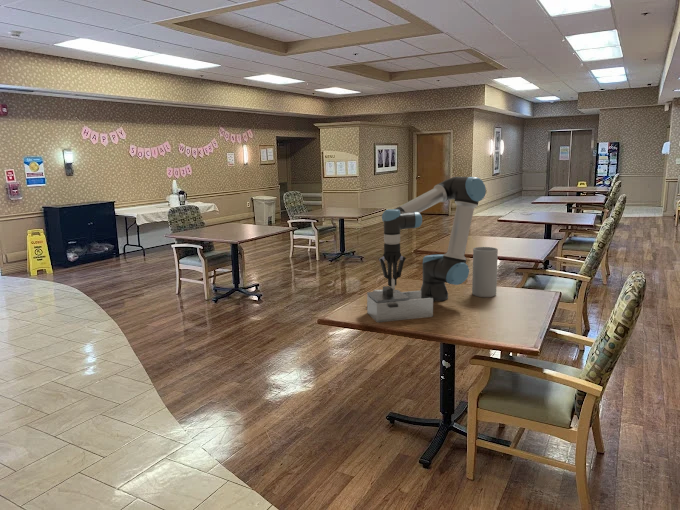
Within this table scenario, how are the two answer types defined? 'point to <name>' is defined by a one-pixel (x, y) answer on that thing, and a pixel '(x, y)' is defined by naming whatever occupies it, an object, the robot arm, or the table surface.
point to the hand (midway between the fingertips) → (392, 292)
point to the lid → (387, 295)
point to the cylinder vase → (484, 271)
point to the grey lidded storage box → (401, 308)
